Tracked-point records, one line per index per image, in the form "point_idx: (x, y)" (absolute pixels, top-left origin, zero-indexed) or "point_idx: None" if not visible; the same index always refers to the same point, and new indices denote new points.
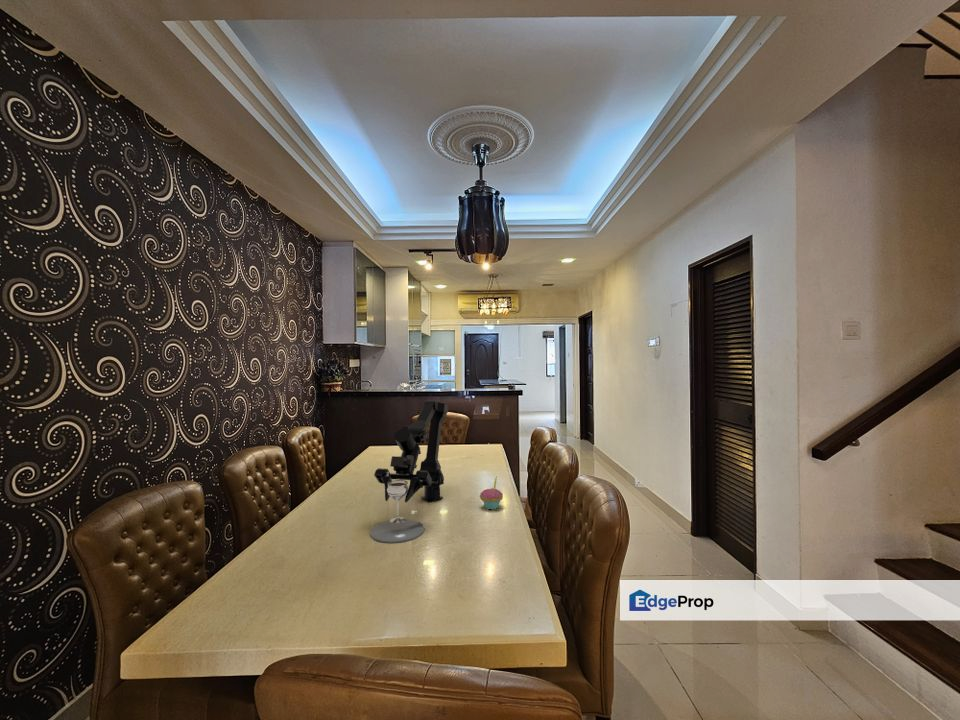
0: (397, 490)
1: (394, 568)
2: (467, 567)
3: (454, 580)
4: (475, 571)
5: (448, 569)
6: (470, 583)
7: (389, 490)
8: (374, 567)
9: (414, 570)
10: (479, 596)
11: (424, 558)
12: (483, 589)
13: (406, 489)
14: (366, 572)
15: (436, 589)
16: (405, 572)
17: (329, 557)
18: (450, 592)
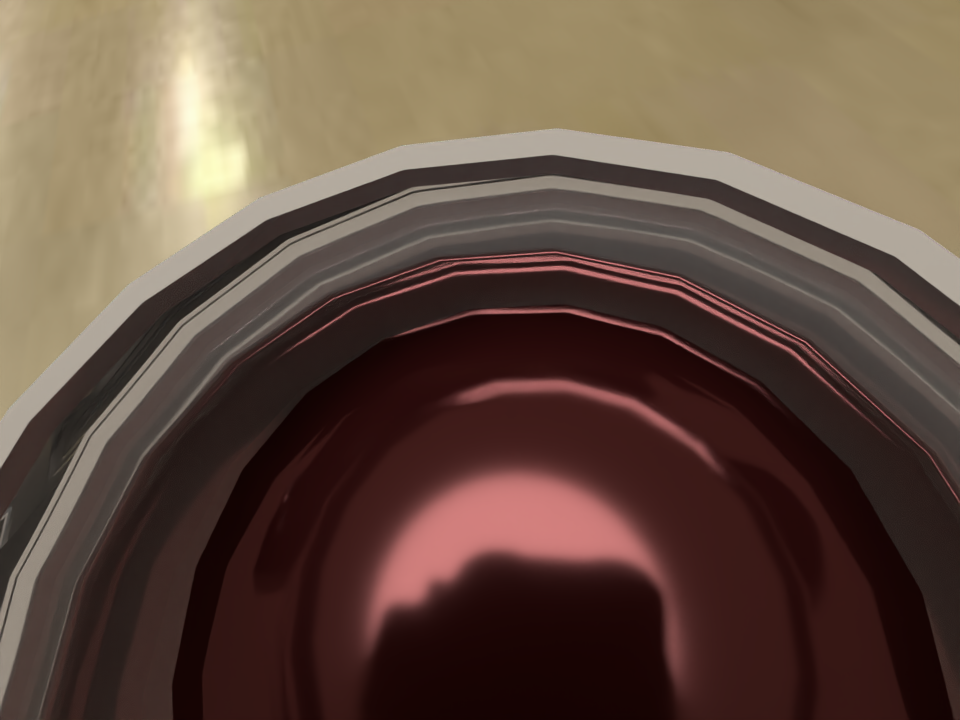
0: (375, 288)
1: (381, 75)
2: (36, 172)
3: (101, 70)
4: (8, 151)
5: (122, 135)
6: (42, 70)
7: (685, 289)
8: (490, 55)
9: (278, 87)
10: (25, 15)
11: (245, 198)
12: (3, 52)
13: (138, 564)
14: (509, 11)
15: (170, 4)
16: (317, 62)
17: (848, 65)
18: (119, 5)
